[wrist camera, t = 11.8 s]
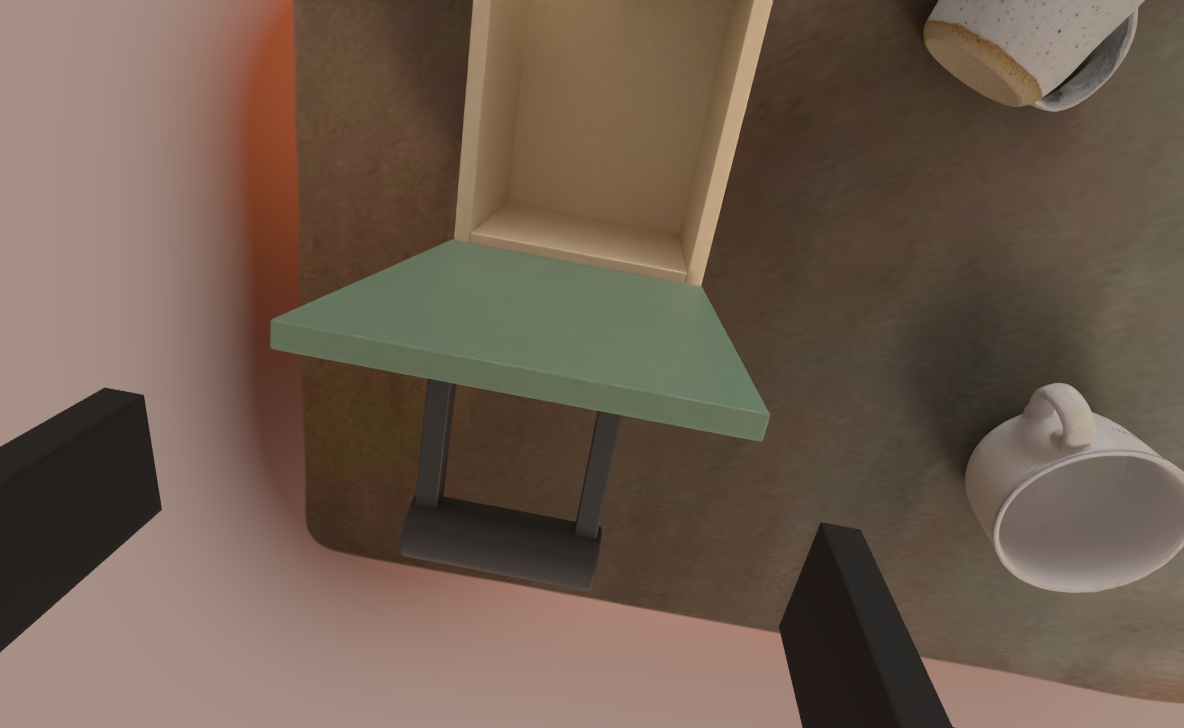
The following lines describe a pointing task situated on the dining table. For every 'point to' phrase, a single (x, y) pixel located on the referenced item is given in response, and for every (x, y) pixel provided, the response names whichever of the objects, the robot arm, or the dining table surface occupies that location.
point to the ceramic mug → (1031, 46)
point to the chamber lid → (530, 379)
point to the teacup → (1074, 497)
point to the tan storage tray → (605, 128)
